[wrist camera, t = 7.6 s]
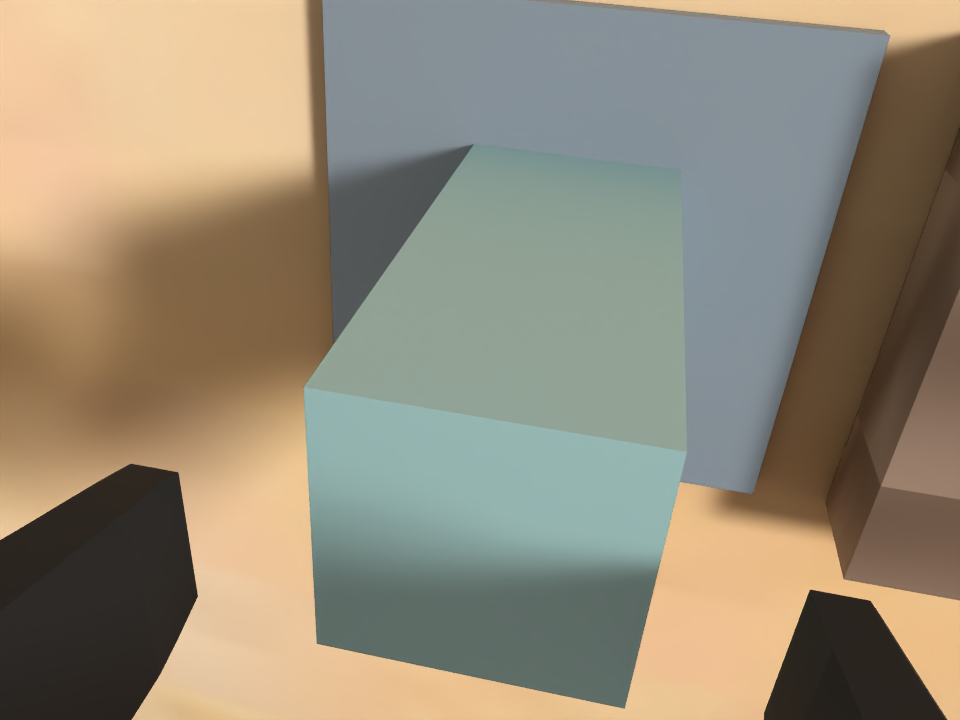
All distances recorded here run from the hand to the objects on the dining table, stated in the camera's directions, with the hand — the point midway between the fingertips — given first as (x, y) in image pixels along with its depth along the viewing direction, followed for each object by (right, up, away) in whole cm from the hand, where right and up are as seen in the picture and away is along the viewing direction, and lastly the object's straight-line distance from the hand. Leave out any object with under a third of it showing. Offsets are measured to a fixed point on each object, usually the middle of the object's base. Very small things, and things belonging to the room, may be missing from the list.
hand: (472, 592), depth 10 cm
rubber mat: (+2, +5, +8) cm, 10 cm away
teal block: (+2, +5, +8) cm, 9 cm away
